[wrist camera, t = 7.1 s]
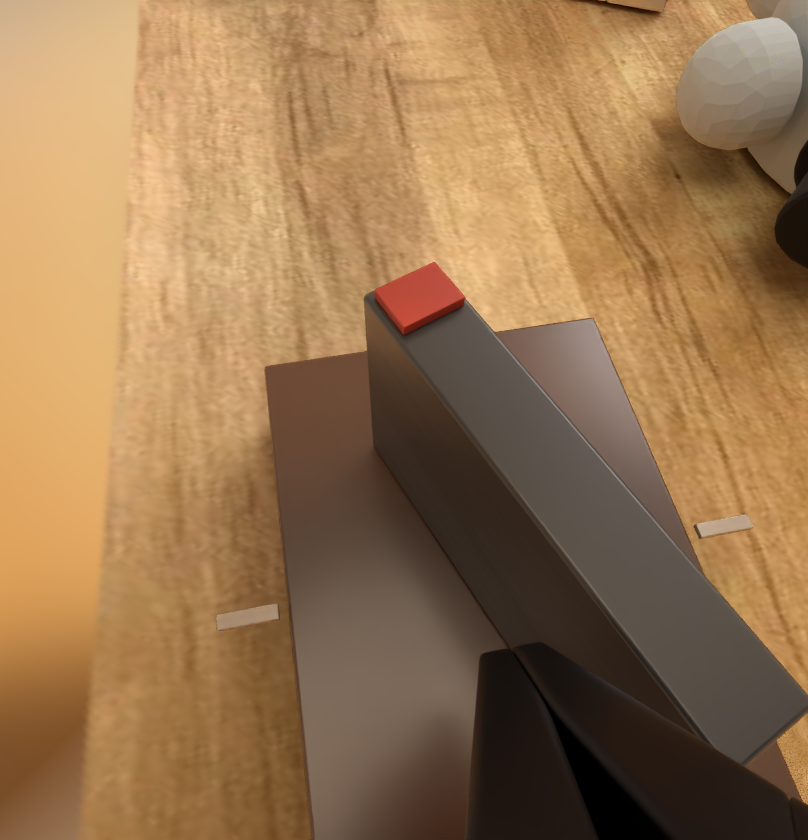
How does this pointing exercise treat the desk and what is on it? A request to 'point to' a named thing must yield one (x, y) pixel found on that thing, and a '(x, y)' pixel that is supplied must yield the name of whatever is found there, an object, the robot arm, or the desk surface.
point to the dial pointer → (556, 525)
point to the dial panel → (411, 590)
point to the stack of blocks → (642, 4)
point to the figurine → (758, 103)
